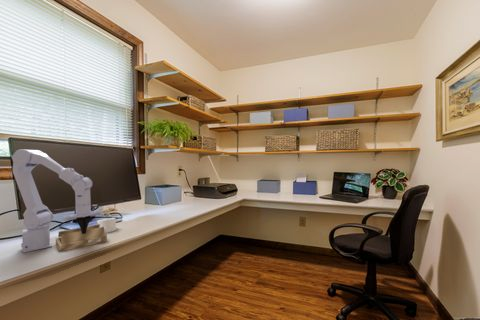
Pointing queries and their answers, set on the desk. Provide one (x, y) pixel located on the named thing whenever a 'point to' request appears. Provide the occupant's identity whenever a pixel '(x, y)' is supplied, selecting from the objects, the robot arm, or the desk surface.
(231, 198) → the desk surface
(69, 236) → the flap near
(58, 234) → the flap far
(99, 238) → the carton
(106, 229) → the bracket
